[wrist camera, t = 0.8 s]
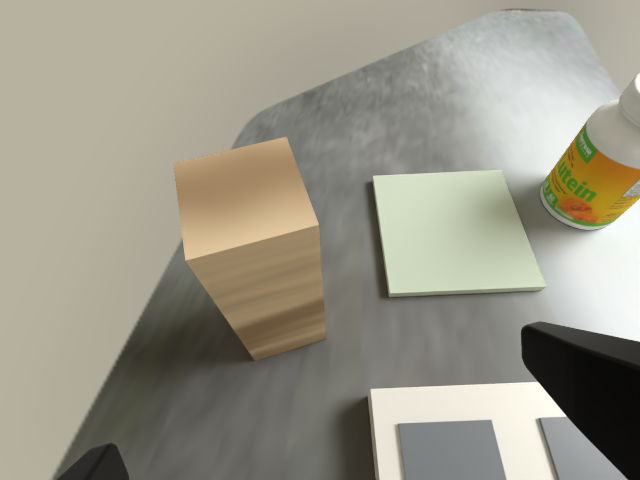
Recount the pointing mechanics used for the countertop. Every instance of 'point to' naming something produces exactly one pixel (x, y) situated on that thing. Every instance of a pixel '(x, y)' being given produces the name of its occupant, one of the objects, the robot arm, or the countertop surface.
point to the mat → (452, 235)
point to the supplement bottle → (599, 166)
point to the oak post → (255, 244)
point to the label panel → (479, 435)
